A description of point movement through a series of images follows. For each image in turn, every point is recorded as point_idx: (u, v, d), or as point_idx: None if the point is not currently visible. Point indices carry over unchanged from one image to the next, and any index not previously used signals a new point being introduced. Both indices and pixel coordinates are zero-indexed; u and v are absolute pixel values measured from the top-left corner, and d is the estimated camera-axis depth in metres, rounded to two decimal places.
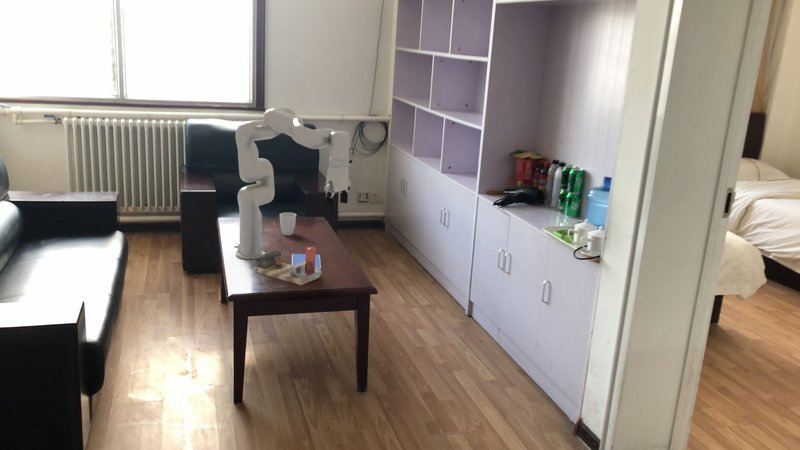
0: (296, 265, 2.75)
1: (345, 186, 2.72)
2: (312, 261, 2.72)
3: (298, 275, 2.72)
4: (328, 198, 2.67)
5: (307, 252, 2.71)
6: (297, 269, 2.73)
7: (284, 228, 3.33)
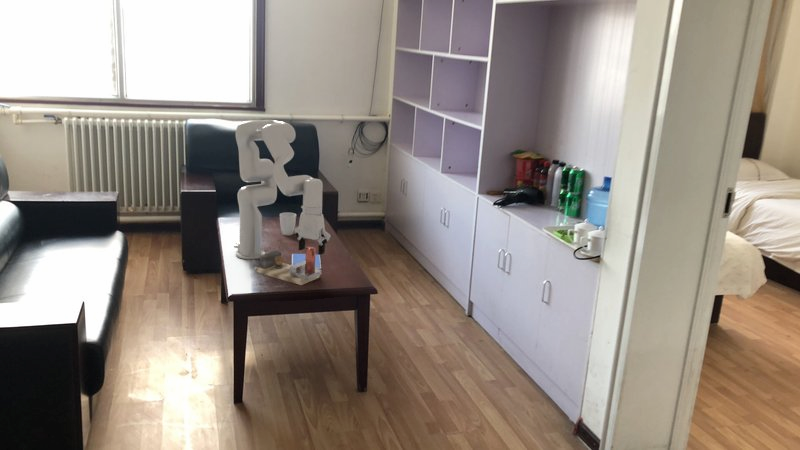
0: (296, 265, 2.75)
1: None
2: (312, 261, 2.72)
3: (298, 275, 2.72)
4: (323, 245, 2.68)
5: (307, 252, 2.71)
6: (297, 269, 2.73)
7: (284, 228, 3.33)
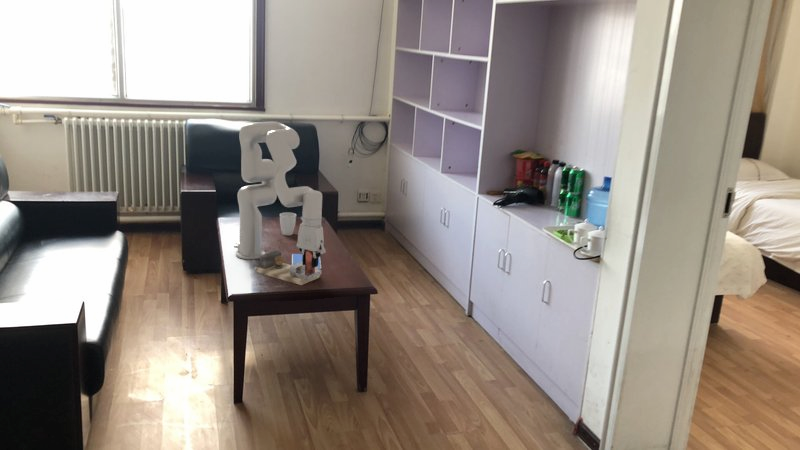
0: (296, 265, 2.75)
1: None
2: None
3: (298, 275, 2.72)
4: (317, 258, 2.71)
5: (307, 252, 2.71)
6: (297, 269, 2.73)
7: (284, 228, 3.33)
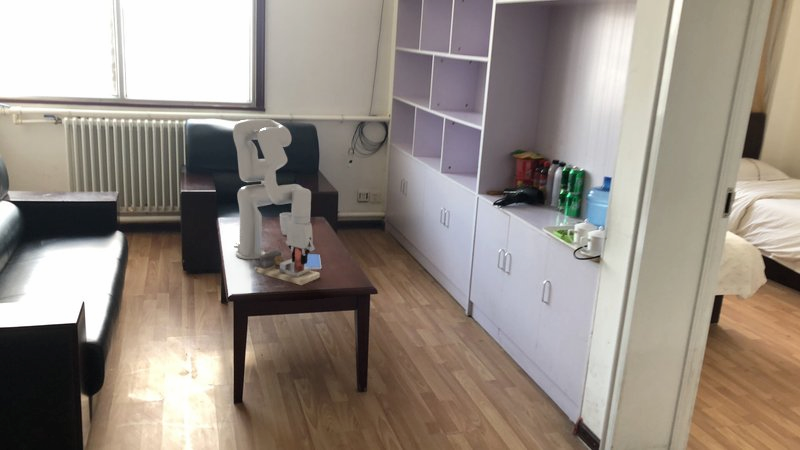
0: (286, 262, 2.77)
1: None
2: None
3: (287, 272, 2.75)
4: (306, 255, 2.74)
5: (296, 249, 2.73)
6: (286, 266, 2.75)
7: (284, 228, 3.33)
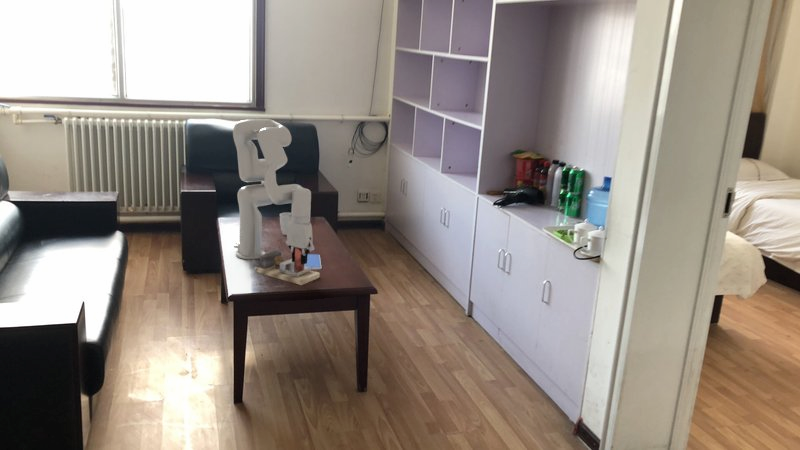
0: (286, 262, 2.77)
1: None
2: None
3: (287, 272, 2.75)
4: (306, 255, 2.74)
5: (296, 249, 2.73)
6: (286, 266, 2.75)
7: (284, 228, 3.33)
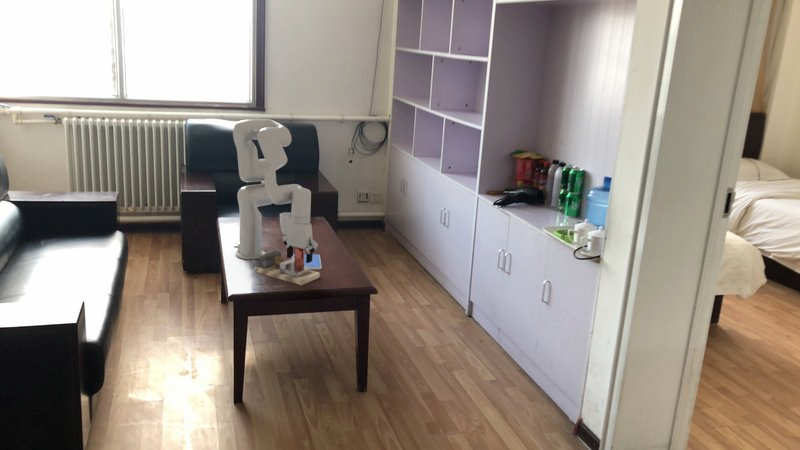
0: (286, 262, 2.77)
1: None
2: (301, 258, 2.74)
3: (287, 272, 2.75)
4: (311, 254, 2.72)
5: (296, 249, 2.73)
6: (286, 266, 2.75)
7: (284, 228, 3.33)
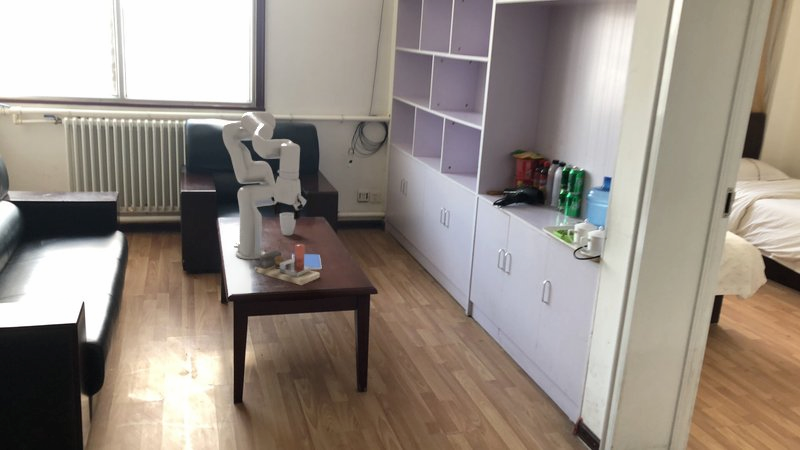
0: (286, 262, 2.77)
1: None
2: (301, 258, 2.74)
3: (287, 272, 2.75)
4: (299, 210, 2.69)
5: (296, 249, 2.73)
6: (286, 266, 2.75)
7: (284, 228, 3.33)
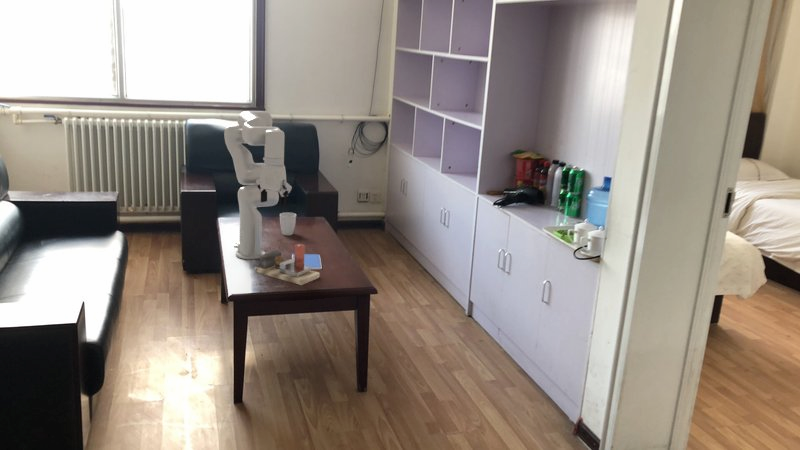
0: (286, 262, 2.77)
1: None
2: (301, 258, 2.74)
3: (287, 272, 2.75)
4: (284, 197, 2.67)
5: (296, 249, 2.73)
6: (286, 266, 2.75)
7: (284, 228, 3.33)
